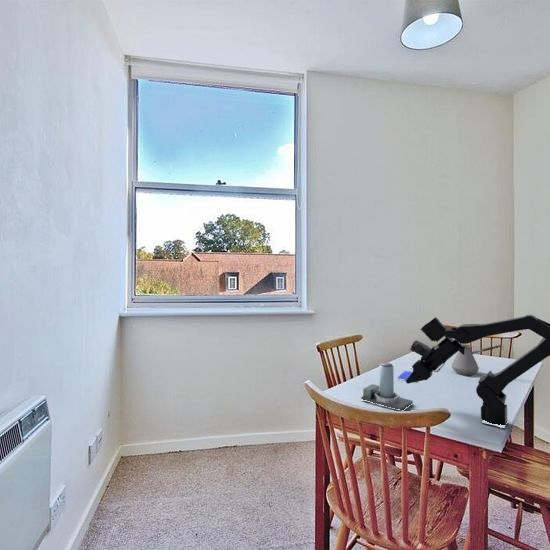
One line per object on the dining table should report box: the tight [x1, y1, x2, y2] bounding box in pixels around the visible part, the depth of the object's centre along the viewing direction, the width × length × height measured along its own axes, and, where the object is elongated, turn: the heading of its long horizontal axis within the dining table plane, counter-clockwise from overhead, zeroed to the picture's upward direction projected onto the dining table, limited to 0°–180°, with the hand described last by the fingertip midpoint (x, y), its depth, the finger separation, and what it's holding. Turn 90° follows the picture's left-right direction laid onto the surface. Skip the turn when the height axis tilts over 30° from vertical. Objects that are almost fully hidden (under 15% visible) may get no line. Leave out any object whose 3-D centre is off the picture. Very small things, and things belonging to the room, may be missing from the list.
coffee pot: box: [451, 344, 505, 376], centre depth 168 cm, size 21×12×15 cm, turn 53°
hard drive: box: [396, 370, 413, 381], centre depth 166 cm, size 2×8×12 cm
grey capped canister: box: [378, 362, 395, 398], centre depth 134 cm, size 5×5×13 cm
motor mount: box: [360, 383, 414, 411], centre depth 135 cm, size 16×9×4 cm, turn 46°
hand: (409, 379), depth 131 cm, fingers open, 9 cm apart
